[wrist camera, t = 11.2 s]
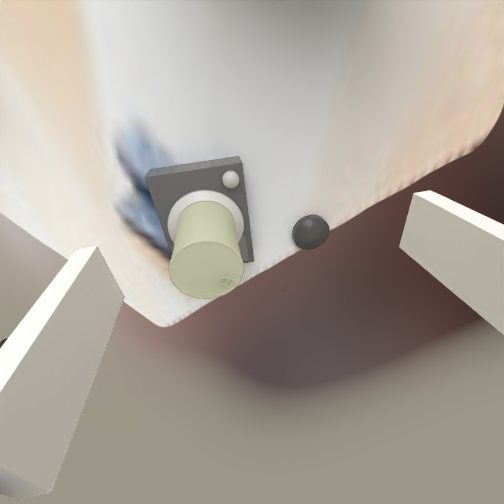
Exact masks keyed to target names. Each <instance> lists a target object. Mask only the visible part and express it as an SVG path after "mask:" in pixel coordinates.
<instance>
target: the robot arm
mask: <svg viewBox="0 0 504 504" xmlns="http://www.w3.org/2000/svg"><path fill="white" fill-rule="evenodd" d="M399 247H400V248H401V249H402V250H403V251H405V252H406V253H407V254H408V255H409V256H410V257H412V258H413V259H414V260H415V261H416V262H418V263H419V264H420V265H421V266H422V267H424V268H425V269H426V270H427V271H428V272H429V273H431V274H432V275H433V276H434V277H435V278H437V279H438V280H439V281H440V282H442V283H443V284H444V285H445V286H446V287H447V288H449V289H450V290H451V291H452V292H454V294H456V295H457V296H458V297H459V298H460V299H462V300H463V301H464V302H465V303H467V304H468V305H469V306H470V307H471V308H473V309H474V310H475V311H476V312H477V313H478V314H479V315H481V316H482V317H483V318H484V319H485V320H487V321H488V322H489V323H490V324H492V325H493V326H494V327H495V328H496V329H498V330H499V331H500V332H501V333H502V334H503V335H504V225H503V224H501V223H499V222H496V221H494V220H492V219H490V218H488V217H486V216H484V215H482V214H479V213H477V212H475V211H473V210H471V209H469V208H467V207H465V206H463V205H460V204H458V203H456V202H454V201H452V200H450V199H447V198H446V197H443V196H441V195H439V194H437V193H435V192H433V191H424V192H418V193H414V194H413V198H412V202H411V205H410V209H409V213H408V216H407V220H406V224H405V227H404V231H403V235H402V239H401V242H400V246H399ZM123 300H124V295H123V293H122V291H121V289H120V287H119V286H118V284H117V282H116V280H115V278H114V276H113V274H112V273H111V271H110V269H109V267H108V265H107V263H106V261H105V260H104V258H103V256H102V254H101V252H100V250H99V248H98V247H97V246H94V247H88V248H82V249H77V250H76V251H75V252H74V254H73V255H72V256H71V258H70V259H69V260H68V262H67V263H66V264H65V265H64V267H63V268H62V269H61V271H60V272H59V273H58V274H57V276H56V277H55V278H54V280H53V281H52V282H51V284H50V285H49V286H48V287H47V289H46V290H45V291H44V293H43V294H42V295H41V297H40V298H39V299H38V300H37V302H36V303H35V304H34V306H33V307H32V308H31V309H30V311H29V312H28V313H27V315H26V316H25V317H24V318H23V320H22V321H21V322H20V324H19V325H18V326H17V328H16V329H15V330H14V332H13V333H12V334H11V335H10V337H9V338H7V339H4V340H2V341H1V342H0V493H1V494H4V495H6V496H8V497H10V498H13V499H15V500H20V499H25V498H29V497H34V496H38V495H42V494H46V493H51V491H52V489H53V486H54V483H55V481H56V478H57V475H58V473H59V470H60V467H61V465H62V462H63V459H64V457H65V454H66V451H67V449H68V446H69V444H70V441H71V438H72V435H73V433H74V430H75V427H76V425H77V422H78V419H79V417H80V414H81V411H82V409H83V406H84V404H85V401H86V398H87V396H88V393H89V390H90V387H91V385H92V382H93V380H94V377H95V374H96V372H97V369H98V366H99V364H100V361H101V358H102V356H103V353H104V350H105V348H106V345H107V342H108V340H109V337H110V334H111V332H112V329H113V326H114V324H115V321H116V318H117V316H118V313H119V310H120V308H121V305H122V302H123Z"/></svg>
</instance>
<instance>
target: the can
mask: <svg viewBox="0 0 504 504" xmlns="http://www.w3.org/2000/svg"><path fill="white" fill-rule="evenodd" d="M243 273H244V264H243V260H242V258H241V254H240V249H239V245H238V240H237V235H236V226H235V221H234V218H233V216H232V214H231V213H230V212H229V211H228V210H227V209H226V208H225V207H224V206H222V205H220V204H218V203H215V202H210V201H202V202H197V203H194V204H192V205H190V206H188V207H187V208H186V209H184V210H183V212H182V213H181V214H180V216H179V218H178V222H177V233H176V239H175V244H174V249H173V254H172V258H171V261H170V264H169V274H170V278H171V280H172V282H173V284H174V285H175V286H176V287H177V288H178V289H179V290H180V291H181V292H183V293H185V294H187V295H189V296H192V297H195V298H202V299H210V298H216V297H220V296H223V295H225V294H227V293H229V292H230V291H232V290H233V289H234V288H235V287H236V286H237V285H238V284H239V282H240V281H241V279H242V276H243Z"/></svg>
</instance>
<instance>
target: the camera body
mask: <svg viewBox="0 0 504 504" xmlns="http://www.w3.org/2000/svg"><path fill="white" fill-rule="evenodd" d="M145 180H146V183H147V185H148V188H149V191H150V194H151V197H152V200H153V203H154V206H155V208H156V211H157V214H158V217H159V220H160V223H161V226H162V229H163V231H164V234H165V237H166V240H167V243H168V246H169V249H170V252H171V254H173V249H174V244H175V239H176V233H177V222H178V218H179V216H180V214H181V213H182V212H183V210H184V209H186V208H187V207H188V206H190V205H192V204H194V203H197V202H202V201H210V202H215V203H218V204H220V205H222V206H224V207H225V208H226V209H227V210H228V211H229V212H230V213H231V214H232V216H233V218H234V221H235V226H236V235H237V240H238V245H239V249H240V254H241V258H242V260H243V263H248V262H253V261H254V256H253V248H252V240H251V232H250V224H249V216H248V208H247V200H246V192H245V184H244V176H243V168H242V162H241V160H240V158H239V156H237V157H230V158H223V159H217V160H210V161H203V162H196V163H190V164H183V165H176V166H169V167H163V168H156V169H150V170H149V171H148V173H147V174H146V176H145Z"/></svg>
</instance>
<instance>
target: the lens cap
mask: <svg viewBox="0 0 504 504" xmlns="http://www.w3.org/2000/svg"><path fill="white" fill-rule="evenodd" d="M328 235H329V226H328V224H327V222H326V221H325V220H324V219H323V218H322V217H320V216H318V215H309V216H306V217H304V218H302V219H300V220H299V221H298V222H297V223H296V224H295V226H294V228H293V231H292V236H293V239H294V241H295V243H296V244H297V246H298V247H300V248H302V249H314V248H316V247H318V246H320V245H321V244H323V243H324V242H325V240H326V239H327V237H328Z"/></svg>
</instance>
